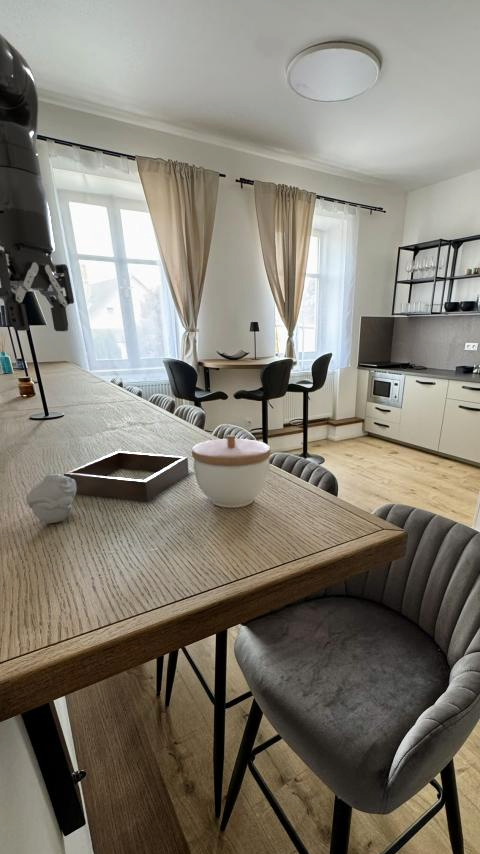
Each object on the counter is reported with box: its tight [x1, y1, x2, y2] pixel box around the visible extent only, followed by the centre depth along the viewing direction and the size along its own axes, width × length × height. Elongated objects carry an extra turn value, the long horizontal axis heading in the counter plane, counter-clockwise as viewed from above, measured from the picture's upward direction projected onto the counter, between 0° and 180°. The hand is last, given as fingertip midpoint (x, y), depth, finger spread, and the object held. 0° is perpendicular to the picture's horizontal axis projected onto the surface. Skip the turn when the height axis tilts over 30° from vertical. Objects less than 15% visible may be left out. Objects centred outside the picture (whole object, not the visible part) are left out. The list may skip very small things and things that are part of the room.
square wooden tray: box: [63, 450, 190, 503], centre depth 76 cm, size 16×16×4 cm
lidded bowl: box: [191, 434, 271, 509], centre depth 68 cm, size 13×13×11 cm
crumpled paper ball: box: [25, 473, 77, 524], centre depth 59 cm, size 6×7×7 cm
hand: (42, 331), depth 67 cm, fingers open, 8 cm apart
